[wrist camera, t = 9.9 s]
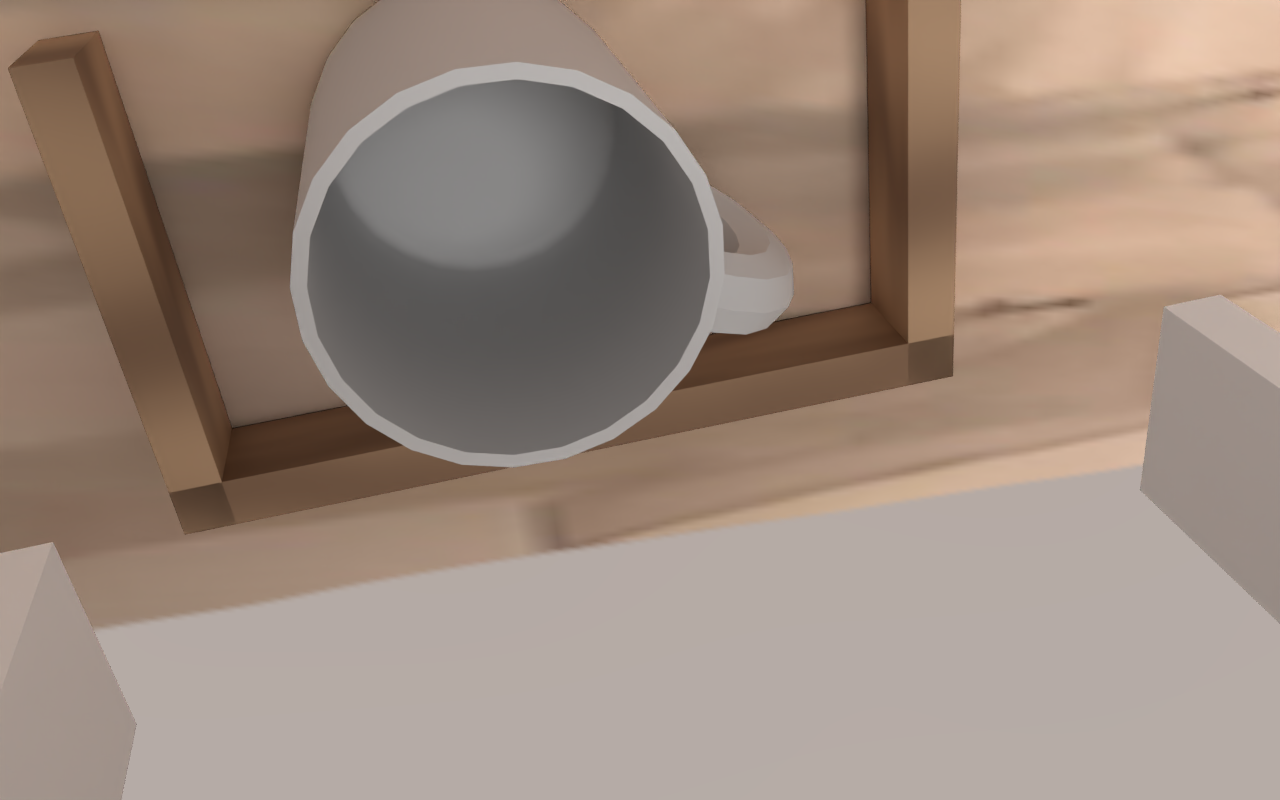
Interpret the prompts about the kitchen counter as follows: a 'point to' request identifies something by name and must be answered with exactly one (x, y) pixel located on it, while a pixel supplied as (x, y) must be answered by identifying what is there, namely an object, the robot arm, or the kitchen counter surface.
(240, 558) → the kitchen counter surface
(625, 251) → the cup
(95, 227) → the bay
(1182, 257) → the kitchen counter surface
